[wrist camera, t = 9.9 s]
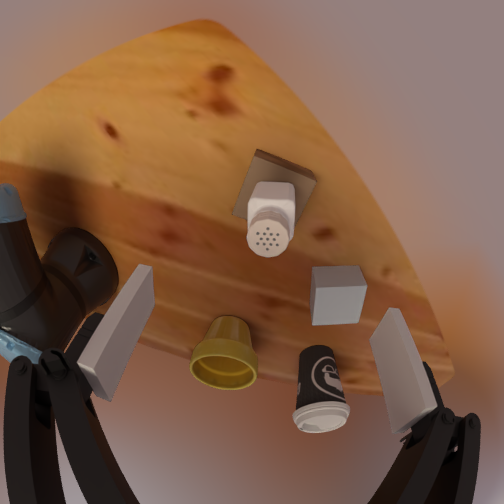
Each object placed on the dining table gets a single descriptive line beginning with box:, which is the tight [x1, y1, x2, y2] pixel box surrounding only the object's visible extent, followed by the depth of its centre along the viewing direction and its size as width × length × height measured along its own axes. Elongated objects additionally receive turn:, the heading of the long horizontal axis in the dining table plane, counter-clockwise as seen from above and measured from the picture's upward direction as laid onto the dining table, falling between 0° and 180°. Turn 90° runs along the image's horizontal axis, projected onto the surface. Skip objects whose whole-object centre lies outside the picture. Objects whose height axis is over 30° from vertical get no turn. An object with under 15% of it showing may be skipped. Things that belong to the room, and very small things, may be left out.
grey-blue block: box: [309, 265, 367, 325], centre depth 37 cm, size 7×7×5 cm
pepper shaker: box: [246, 181, 295, 257], centre depth 24 cm, size 4×4×10 cm
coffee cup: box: [293, 345, 350, 433], centre depth 42 cm, size 10×10×15 cm
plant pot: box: [189, 316, 258, 390], centre depth 42 cm, size 10×10×10 cm
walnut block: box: [232, 149, 317, 228], centre depth 30 cm, size 7×7×5 cm
